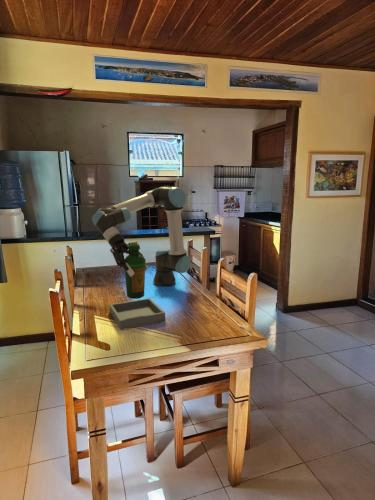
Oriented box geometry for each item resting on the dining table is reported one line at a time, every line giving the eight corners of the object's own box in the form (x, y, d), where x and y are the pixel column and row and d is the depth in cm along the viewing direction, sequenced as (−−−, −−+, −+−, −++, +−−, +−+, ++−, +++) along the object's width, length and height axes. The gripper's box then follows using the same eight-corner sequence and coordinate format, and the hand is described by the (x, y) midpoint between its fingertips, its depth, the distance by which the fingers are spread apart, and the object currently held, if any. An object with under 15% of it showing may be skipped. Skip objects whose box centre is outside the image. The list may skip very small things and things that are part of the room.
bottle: (142, 301, 154) (141, 244, 148) (121, 299, 156) (119, 243, 150) (149, 293, 164) (148, 240, 158) (129, 292, 166) (128, 239, 160)
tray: (150, 305, 177) (149, 297, 176) (165, 321, 157) (165, 312, 156) (109, 312, 167) (109, 304, 166) (120, 330, 148) (120, 321, 147)
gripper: (125, 239, 172) (149, 271, 168) (93, 246, 152) (120, 282, 148) (132, 230, 168) (157, 262, 164) (101, 236, 148) (129, 273, 144)
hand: (139, 272), depth 156 cm, fingers closed on bottle, 10 cm apart
